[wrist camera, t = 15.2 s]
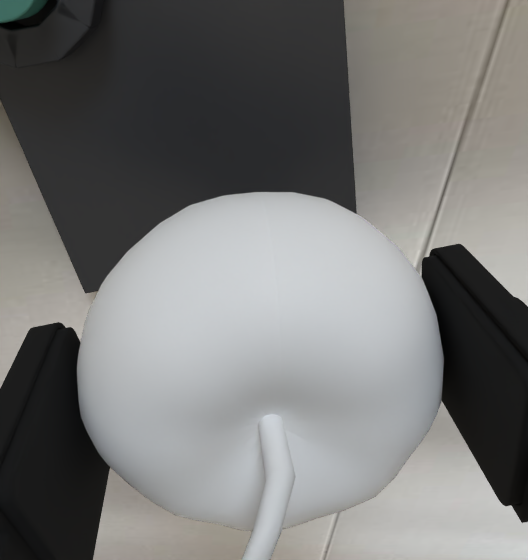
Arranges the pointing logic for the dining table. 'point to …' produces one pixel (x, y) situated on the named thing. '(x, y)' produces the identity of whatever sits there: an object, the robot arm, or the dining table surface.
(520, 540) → the dining table surface
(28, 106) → the scale
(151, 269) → the plain white apple
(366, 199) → the dining table surface
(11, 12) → the button
